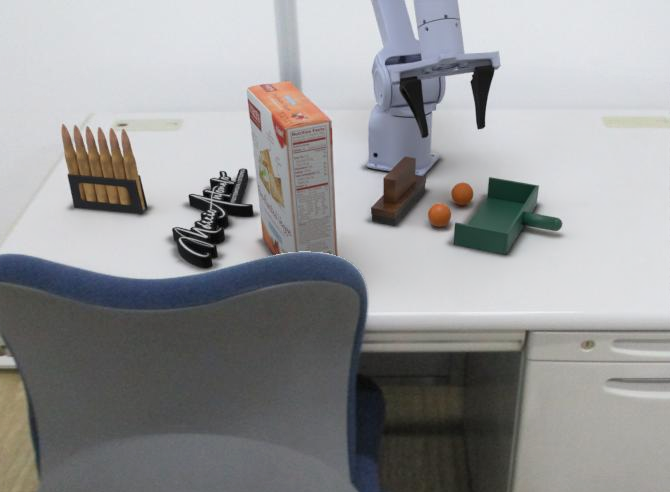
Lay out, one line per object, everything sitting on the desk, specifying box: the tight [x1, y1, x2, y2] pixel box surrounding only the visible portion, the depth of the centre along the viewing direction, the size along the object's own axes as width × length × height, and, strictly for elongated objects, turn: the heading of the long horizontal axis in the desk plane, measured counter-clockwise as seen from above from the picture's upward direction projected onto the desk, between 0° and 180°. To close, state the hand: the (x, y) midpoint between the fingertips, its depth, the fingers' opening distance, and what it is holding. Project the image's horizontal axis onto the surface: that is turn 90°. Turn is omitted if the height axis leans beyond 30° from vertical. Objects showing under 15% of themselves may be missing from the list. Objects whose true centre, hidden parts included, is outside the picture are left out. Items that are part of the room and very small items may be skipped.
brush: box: [370, 157, 427, 226], centre depth 119 cm, size 4×13×6 cm, turn 157°
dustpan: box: [453, 176, 563, 255], centre depth 115 cm, size 13×16×3 cm
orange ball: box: [450, 182, 474, 206], centre depth 121 cm, size 3×3×3 cm
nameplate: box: [171, 168, 254, 269], centre depth 117 cm, size 28×2×10 cm
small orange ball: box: [427, 202, 452, 228], centre depth 116 cm, size 3×3×3 cm
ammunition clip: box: [60, 123, 149, 215], centre depth 117 cm, size 11×2×12 cm, turn 79°
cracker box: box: [246, 80, 338, 256], centre depth 102 cm, size 14×6×21 cm, turn 24°
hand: (453, 132), depth 112 cm, fingers open, 7 cm apart
